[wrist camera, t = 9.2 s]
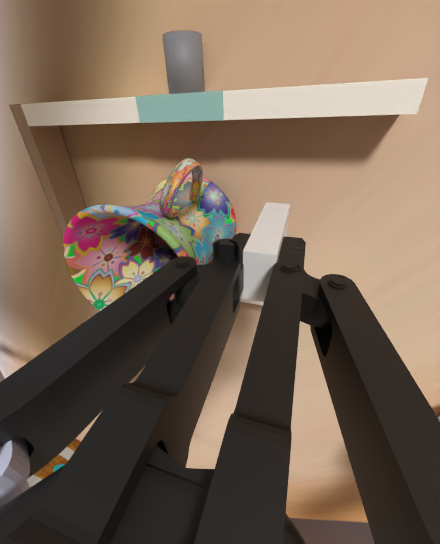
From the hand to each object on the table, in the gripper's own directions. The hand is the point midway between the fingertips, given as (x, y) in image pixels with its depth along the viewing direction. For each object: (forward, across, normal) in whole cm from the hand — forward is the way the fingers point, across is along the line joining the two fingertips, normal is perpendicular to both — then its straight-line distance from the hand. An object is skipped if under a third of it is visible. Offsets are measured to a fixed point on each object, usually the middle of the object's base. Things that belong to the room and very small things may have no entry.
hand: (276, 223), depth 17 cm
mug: (+5, -7, -1) cm, 9 cm away
